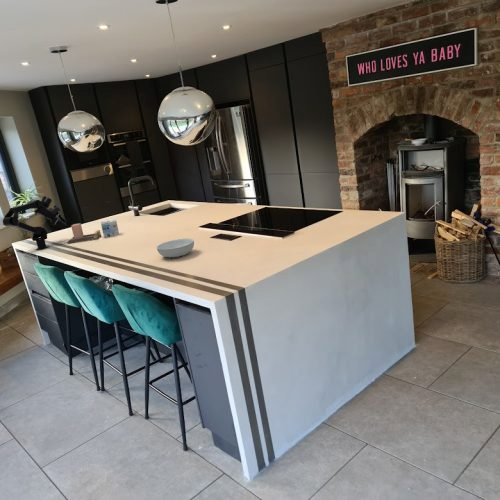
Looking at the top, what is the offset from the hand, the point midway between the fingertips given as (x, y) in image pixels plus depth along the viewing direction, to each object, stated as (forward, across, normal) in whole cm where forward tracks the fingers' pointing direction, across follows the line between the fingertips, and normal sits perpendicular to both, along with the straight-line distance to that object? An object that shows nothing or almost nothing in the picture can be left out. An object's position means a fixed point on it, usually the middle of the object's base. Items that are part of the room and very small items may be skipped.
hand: (66, 223), depth 341 cm
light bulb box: (+29, -12, -11) cm, 34 cm away
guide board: (+16, -8, +2) cm, 18 cm away
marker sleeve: (+12, -7, +3) cm, 14 cm away
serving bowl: (+48, -102, -42) cm, 121 cm away
